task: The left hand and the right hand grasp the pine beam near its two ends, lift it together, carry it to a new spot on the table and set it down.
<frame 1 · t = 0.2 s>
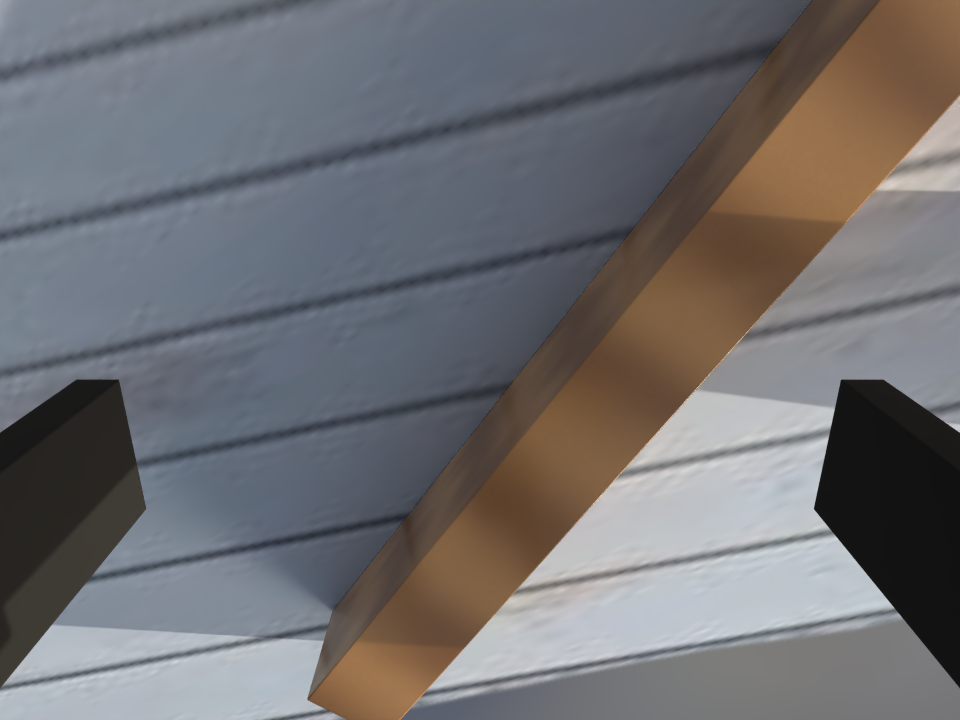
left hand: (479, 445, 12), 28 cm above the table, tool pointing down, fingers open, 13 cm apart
beam: (697, 223, 39), on the table
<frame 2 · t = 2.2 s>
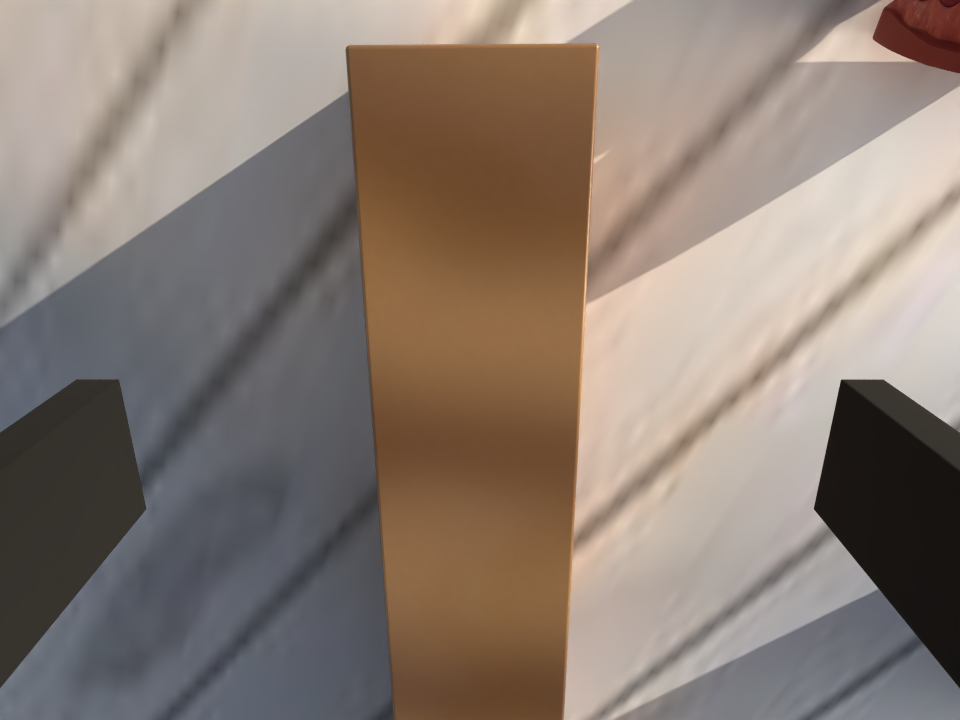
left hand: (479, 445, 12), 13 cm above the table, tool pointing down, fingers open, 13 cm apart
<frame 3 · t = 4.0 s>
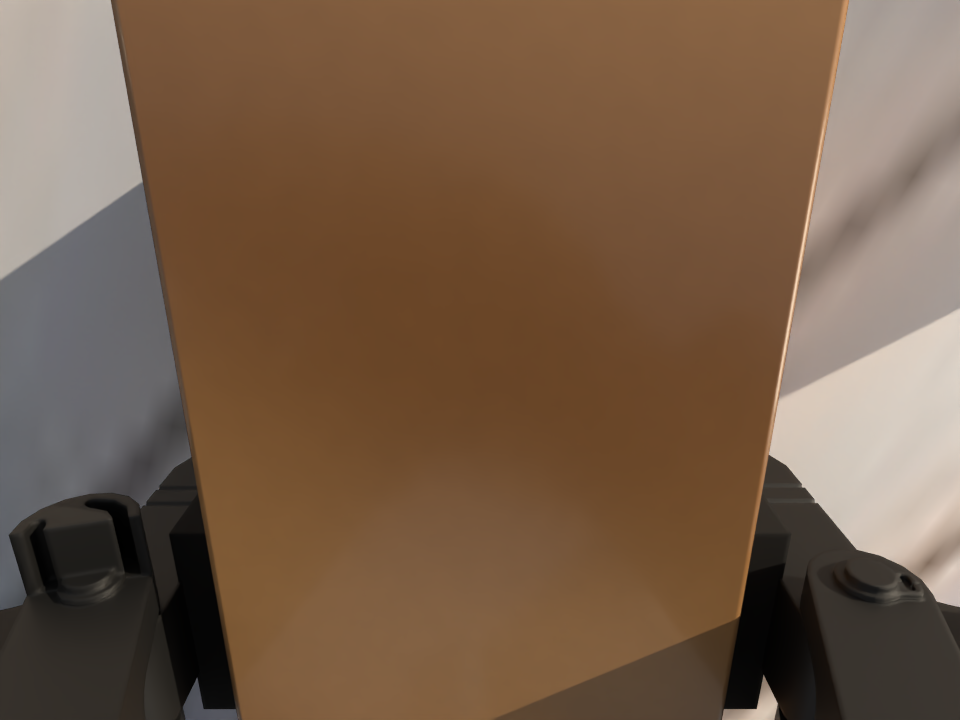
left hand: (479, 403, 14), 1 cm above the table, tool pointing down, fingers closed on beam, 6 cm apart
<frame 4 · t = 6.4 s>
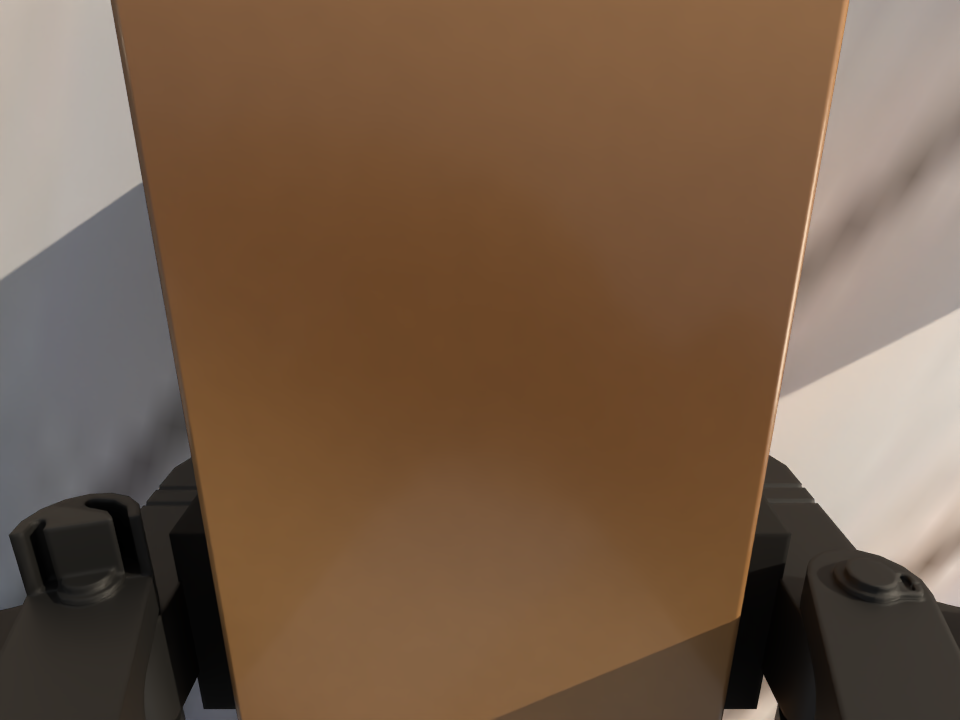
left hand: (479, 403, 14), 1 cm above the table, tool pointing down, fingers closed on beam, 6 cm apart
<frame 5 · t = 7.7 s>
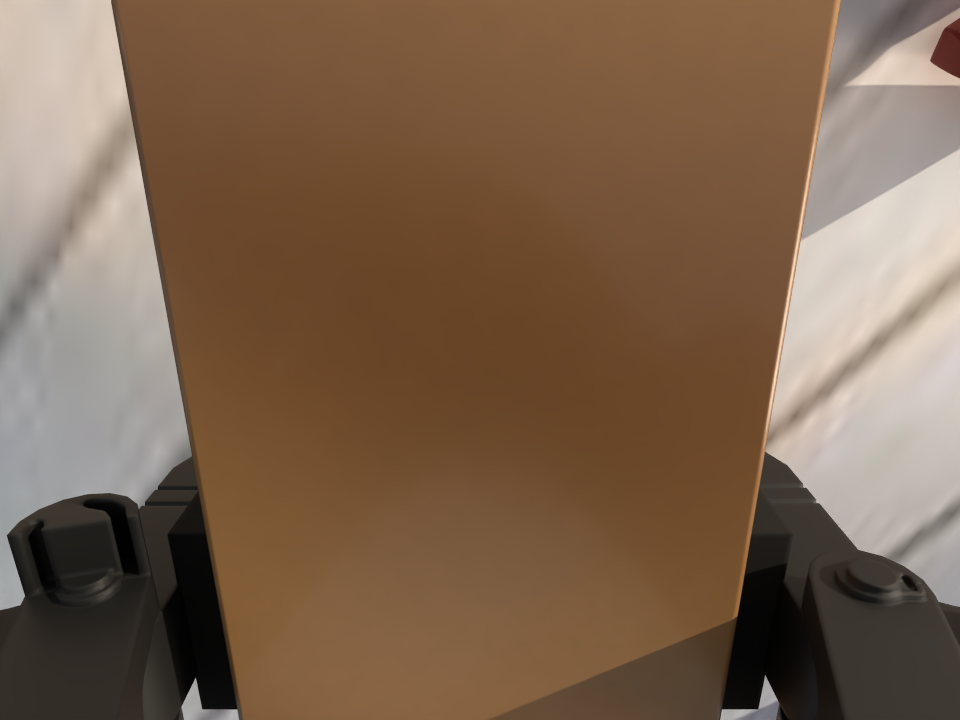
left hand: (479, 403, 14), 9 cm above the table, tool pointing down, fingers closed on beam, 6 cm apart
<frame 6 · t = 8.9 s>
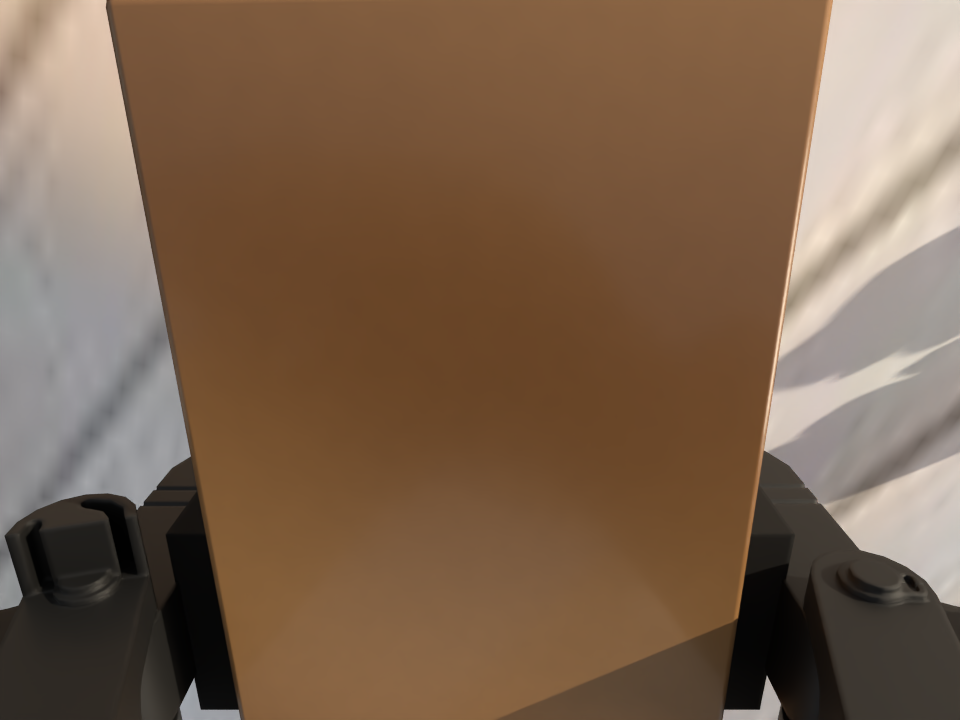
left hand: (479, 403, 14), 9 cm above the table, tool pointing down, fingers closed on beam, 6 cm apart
when the left hand's fingers open (2 cm above the table, at t = 11.6 s): beam drops 1 cm, on the table.
when the right hand's fingers open (2 cm above the table, at t = 11.6 s): beam drops 1 cm, on the table.
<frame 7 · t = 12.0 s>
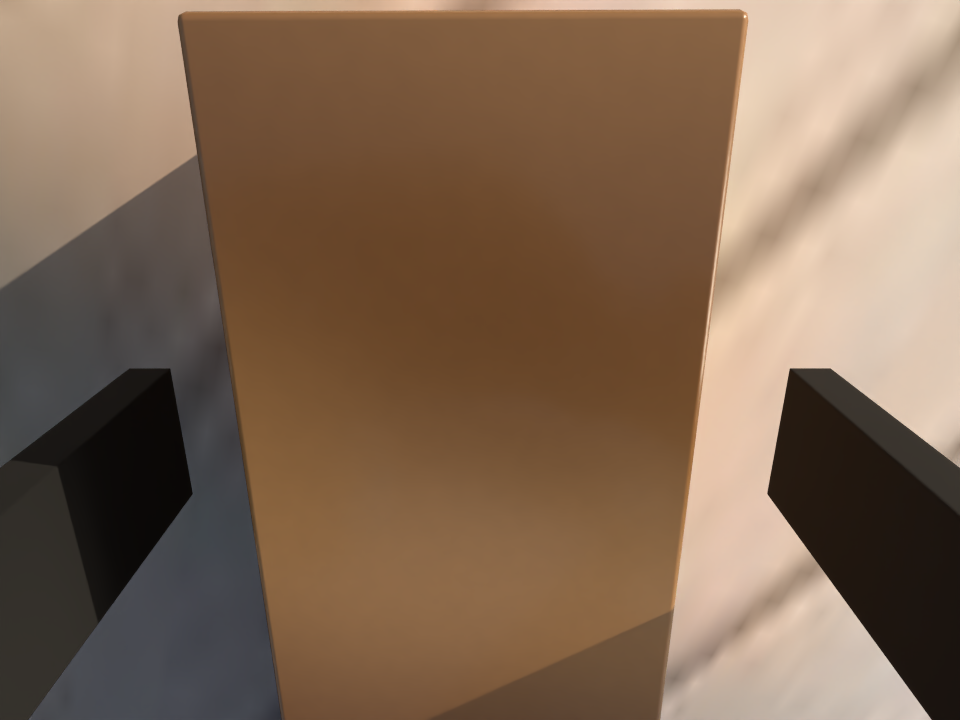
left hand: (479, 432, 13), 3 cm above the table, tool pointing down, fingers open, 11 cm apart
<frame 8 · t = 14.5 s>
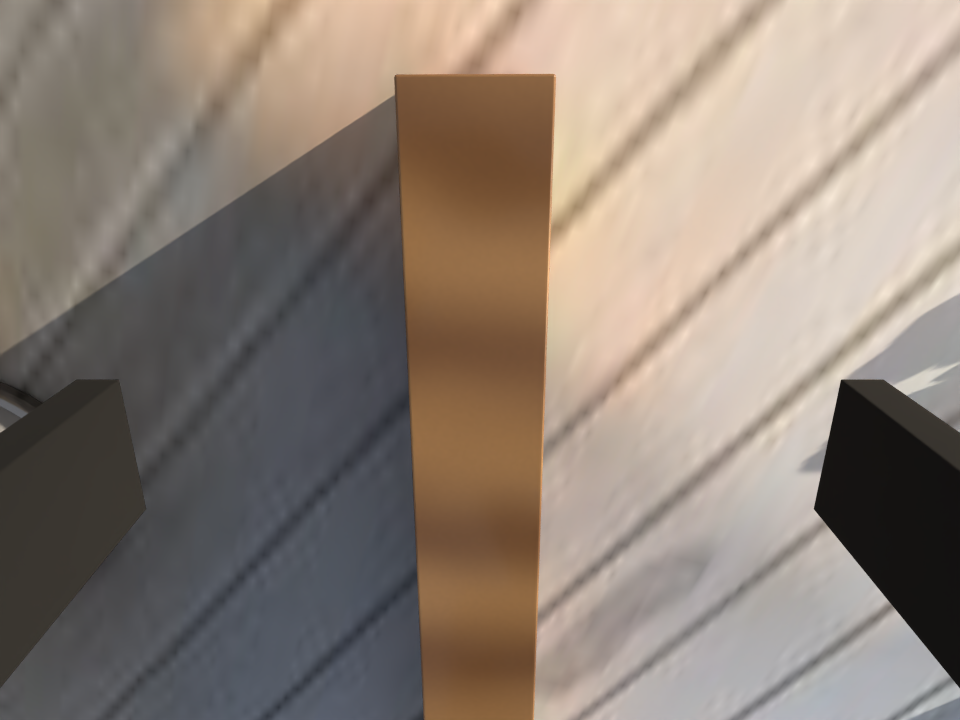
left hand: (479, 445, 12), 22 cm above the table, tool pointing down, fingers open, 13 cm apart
beam: (479, 683, 44), on the table
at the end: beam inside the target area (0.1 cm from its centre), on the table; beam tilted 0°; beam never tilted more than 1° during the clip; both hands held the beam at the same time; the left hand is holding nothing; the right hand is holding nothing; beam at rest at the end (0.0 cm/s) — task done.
